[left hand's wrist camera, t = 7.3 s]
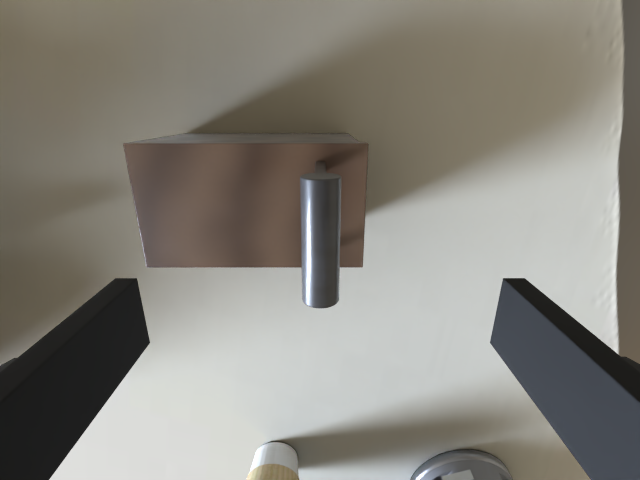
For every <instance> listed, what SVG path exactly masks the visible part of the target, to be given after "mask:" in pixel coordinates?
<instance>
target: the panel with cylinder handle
mask: <svg viewBox="0 0 640 480" xmlns="http://www.w3.org/2000/svg"><path fill="white" fill-rule="evenodd" d="M123 146H124V151H125V156H126V162H127V167H128V172H129V177H130V183H131V188H132V193H133V198H134V204H135V209H136V214H137V220H138V225H139V230H140V235H141V241H142V246H143V251H144V256H145V262H146V267H302V299H303V302H304V303H305V304H306V305H308V306H310V307H313V308H328V307H331V306H334V305H335V304H336V303H337V302H338V300H339V268H340V267H363V249H364V228H365V206H366V185H367V163H368V143H367V142H129V143H124V144H123Z"/></svg>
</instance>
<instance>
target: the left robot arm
mask: <svg viewBox="0 0 640 480" xmlns="http://www.w3.org/2000/svg"><path fill="white" fill-rule="evenodd" d="M149 343H150V341H149V336H148V331H147V326H146V321H145V316H144V311H143V306H142V302H141V297H140V292H139V287H138V282H137V278H115V279H114V280H113V281H112V282H110V283H109V284H108V285H107V286H105V287H104V288H103V289H102V290H101V291H99V292H98V293H97V294H96V295H94V296H93V297H92V298H91V299H90V300H88V301H87V302H86V303H85V304H83V305H82V306H81V307H80V308H78V309H77V310H76V311H75V312H74V313H72V314H71V315H70V316H69V317H67V318H66V319H65V320H64V321H62V322H61V323H60V324H59V325H58V326H56V327H55V328H54V329H53V330H51V331H50V332H49V333H48V334H46V335H45V336H44V337H43V338H42V339H40V340H39V341H38V342H37V343H35V344H34V345H33V346H32V347H31V348H29V349H28V350H27V351H26V352H24V353H23V354H22V355H21V356H19V357H18V358H14V359H12V360H10V361H8V362H6V363H5V364H3V365H1V366H0V480H49V479H50V478H51V476H52V475H53V473H54V472H55V471H56V469H57V468H58V467H59V465H60V464H61V463H62V461H63V460H64V459H65V457H66V456H67V454H68V453H69V452H70V450H71V449H72V448H73V446H74V445H75V444H76V442H77V441H78V440H79V438H80V437H81V435H82V434H83V433H84V431H85V430H86V429H87V427H88V426H89V425H90V423H91V422H92V421H93V419H94V418H95V416H96V415H97V414H98V412H99V411H100V410H101V408H102V407H103V406H104V404H105V403H106V402H107V400H108V399H109V397H110V396H111V395H112V393H113V392H114V391H115V389H116V388H117V387H118V385H119V384H120V383H121V381H122V380H123V378H124V377H125V376H126V374H127V373H128V372H129V370H130V369H131V368H132V366H133V365H134V364H135V362H136V361H137V359H138V358H139V357H140V355H141V354H142V353H143V351H144V350H145V349H146V347H147V346H148V345H149ZM490 343H491V345H492V346H493V347H494V349H495V350H496V351H497V353H498V354H499V355H500V357H501V358H502V359H503V361H504V362H505V364H506V365H507V366H508V368H509V369H510V370H511V372H512V373H513V374H514V376H515V377H516V378H517V380H518V381H519V383H520V384H521V385H522V387H523V388H524V389H525V391H526V392H527V393H528V395H529V396H530V397H531V399H532V400H533V402H534V403H535V404H536V406H537V407H538V408H539V410H540V411H541V412H542V414H543V415H544V416H545V418H546V419H547V421H548V422H549V423H550V425H551V426H552V427H553V429H554V430H555V431H556V433H557V434H558V435H559V437H560V438H561V440H562V441H563V442H564V444H565V445H566V446H567V448H568V449H569V450H570V452H571V453H572V454H573V456H574V457H575V459H576V460H577V461H578V463H579V464H580V465H581V467H582V468H583V469H584V471H585V472H586V473H587V475H588V476H589V478H590V479H591V480H640V364H638V363H636V362H635V361H633V360H631V359H629V358H627V357H621V356H619V355H618V354H617V353H616V352H614V351H613V350H612V349H611V348H609V347H608V346H607V345H606V344H605V343H603V342H602V341H601V340H600V339H598V338H597V337H596V336H595V335H594V334H592V333H591V332H590V331H589V330H587V329H586V328H585V327H584V326H582V325H581V324H580V323H579V322H578V321H576V320H575V319H574V318H573V317H571V316H570V315H569V314H568V313H566V312H565V311H564V310H563V309H562V308H560V307H559V306H558V305H557V304H555V303H554V302H553V301H552V300H550V299H549V298H548V297H547V296H546V295H544V294H543V293H542V292H541V291H539V290H538V289H537V288H536V287H535V286H533V285H532V284H531V283H530V282H528V281H527V280H526V279H525V278H503V282H502V287H501V292H500V297H499V302H498V306H497V311H496V316H495V321H494V326H493V331H492V336H491V341H490ZM411 480H513V479H512V477H511V475H510V473H509V472H508V470H507V468H506V466H505V465H504V464H503V463H502V462H501V461H500V460H499V459H497V458H496V457H494V456H492V455H490V454H488V453H485V452H481V451H475V450H457V451H451V452H447V453H443V454H440V455H438V456H435V457H433V458H431V459H430V460H428V461H426V462H425V463H424V464H422V465H421V466H420V467H419V468H418V469H417V470H416V471H415V473H414V474H413V476H412V477H411Z"/></svg>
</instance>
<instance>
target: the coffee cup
mask: <svg viewBox="0 0 640 480" xmlns="http://www.w3.org/2000/svg"><path fill="white" fill-rule="evenodd" d="M246 480H299V477H298V458H297V453H296V452H295V450H294V449H293V448H292V447H291V446H289V445H287V444H285V443H281V442H271V443H267V444H264V445H262V446H261V447H260V448H259V449H258V450H257V451H256V454H255V457H254V460H253V464H252V467H251V470H250V473H249V474H248V477H247V479H246Z"/></svg>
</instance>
